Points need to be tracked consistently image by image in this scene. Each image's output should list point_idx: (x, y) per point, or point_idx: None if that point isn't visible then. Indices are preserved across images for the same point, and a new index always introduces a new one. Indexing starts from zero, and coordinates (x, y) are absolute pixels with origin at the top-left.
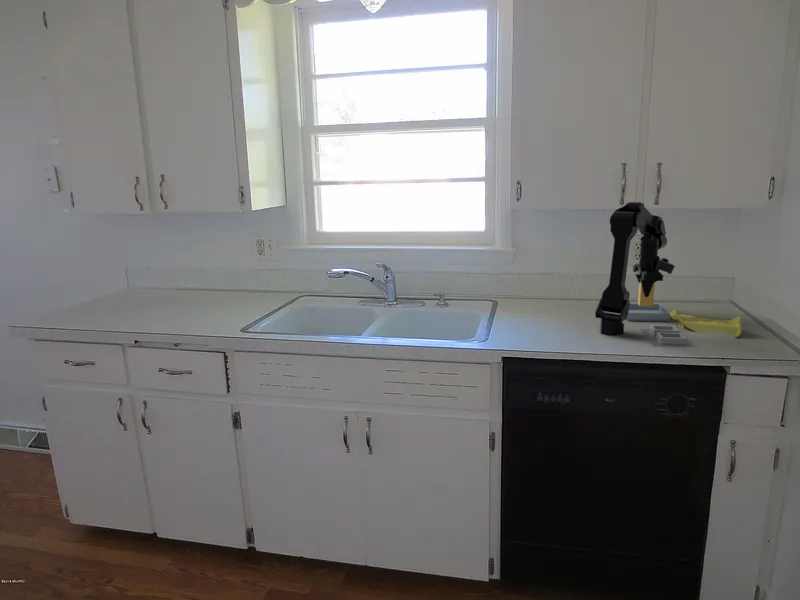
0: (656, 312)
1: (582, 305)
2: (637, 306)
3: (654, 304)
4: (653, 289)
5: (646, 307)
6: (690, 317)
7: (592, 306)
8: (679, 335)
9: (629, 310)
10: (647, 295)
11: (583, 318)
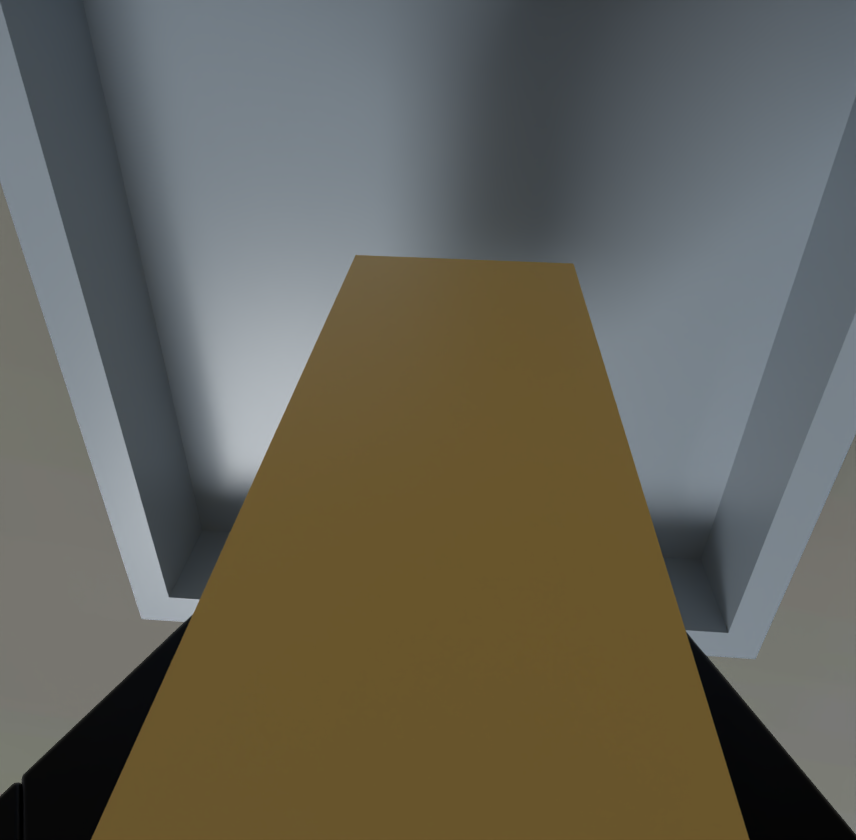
0: (311, 39)
1: None
2: (137, 380)
3: (17, 44)
4: (666, 649)
5: (104, 214)
6: None
7: (59, 712)
8: None
9: (251, 469)
10: None
11: None
